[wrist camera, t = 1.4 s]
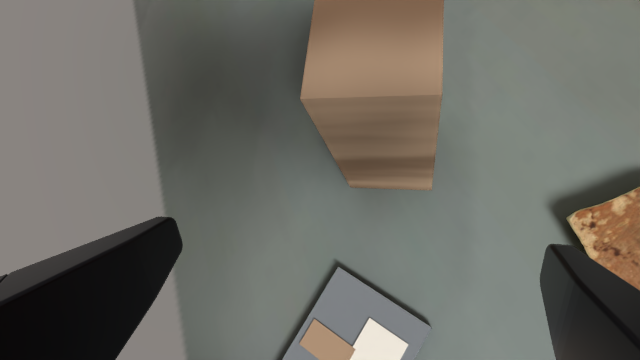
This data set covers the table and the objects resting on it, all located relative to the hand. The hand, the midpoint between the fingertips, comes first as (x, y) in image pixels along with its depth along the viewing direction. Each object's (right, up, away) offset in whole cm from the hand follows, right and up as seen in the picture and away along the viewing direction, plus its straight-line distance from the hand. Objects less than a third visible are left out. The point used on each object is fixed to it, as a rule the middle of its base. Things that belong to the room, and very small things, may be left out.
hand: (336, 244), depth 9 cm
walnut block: (+4, +3, +15) cm, 16 cm away
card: (+1, -8, +12) cm, 14 cm away
